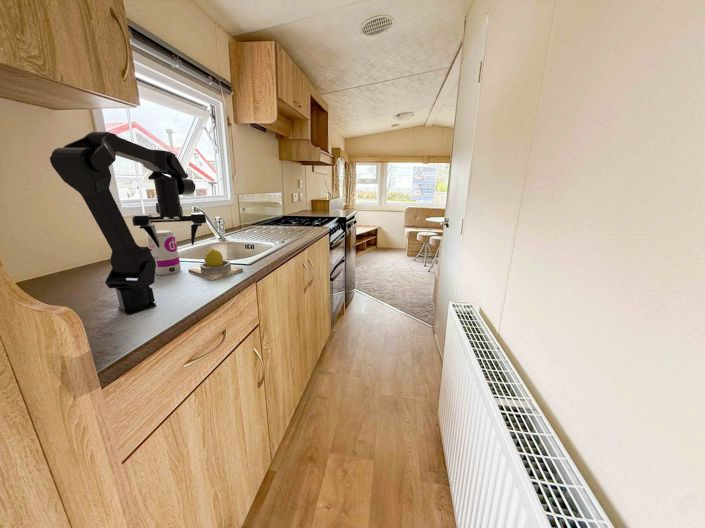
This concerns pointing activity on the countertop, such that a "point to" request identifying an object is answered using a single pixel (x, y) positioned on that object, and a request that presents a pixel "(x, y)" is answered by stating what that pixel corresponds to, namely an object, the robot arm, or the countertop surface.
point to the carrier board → (198, 272)
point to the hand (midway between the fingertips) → (176, 246)
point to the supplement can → (165, 253)
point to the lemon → (214, 258)
